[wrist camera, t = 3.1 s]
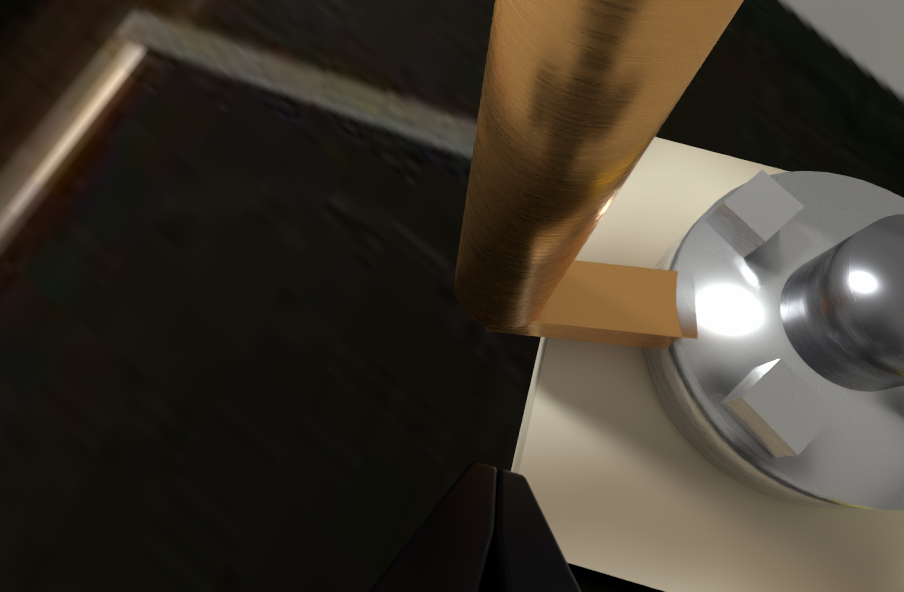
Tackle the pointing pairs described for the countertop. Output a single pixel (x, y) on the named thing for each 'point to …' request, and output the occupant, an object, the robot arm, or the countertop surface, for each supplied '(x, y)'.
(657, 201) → the flange board
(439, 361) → the countertop surface
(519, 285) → the disc with rod
